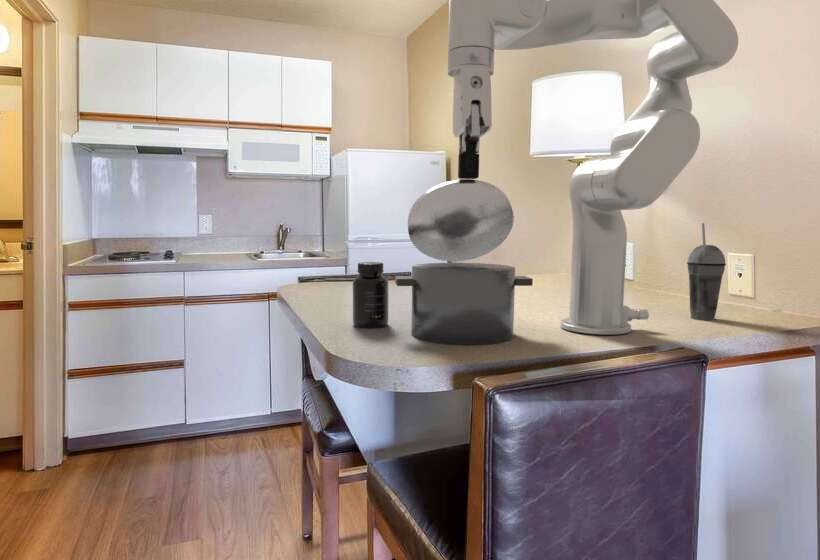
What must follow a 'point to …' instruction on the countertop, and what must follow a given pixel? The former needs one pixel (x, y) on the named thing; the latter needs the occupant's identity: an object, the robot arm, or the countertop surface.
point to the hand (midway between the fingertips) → (468, 178)
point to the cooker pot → (463, 302)
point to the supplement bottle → (370, 296)
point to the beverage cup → (705, 279)
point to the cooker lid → (460, 220)
